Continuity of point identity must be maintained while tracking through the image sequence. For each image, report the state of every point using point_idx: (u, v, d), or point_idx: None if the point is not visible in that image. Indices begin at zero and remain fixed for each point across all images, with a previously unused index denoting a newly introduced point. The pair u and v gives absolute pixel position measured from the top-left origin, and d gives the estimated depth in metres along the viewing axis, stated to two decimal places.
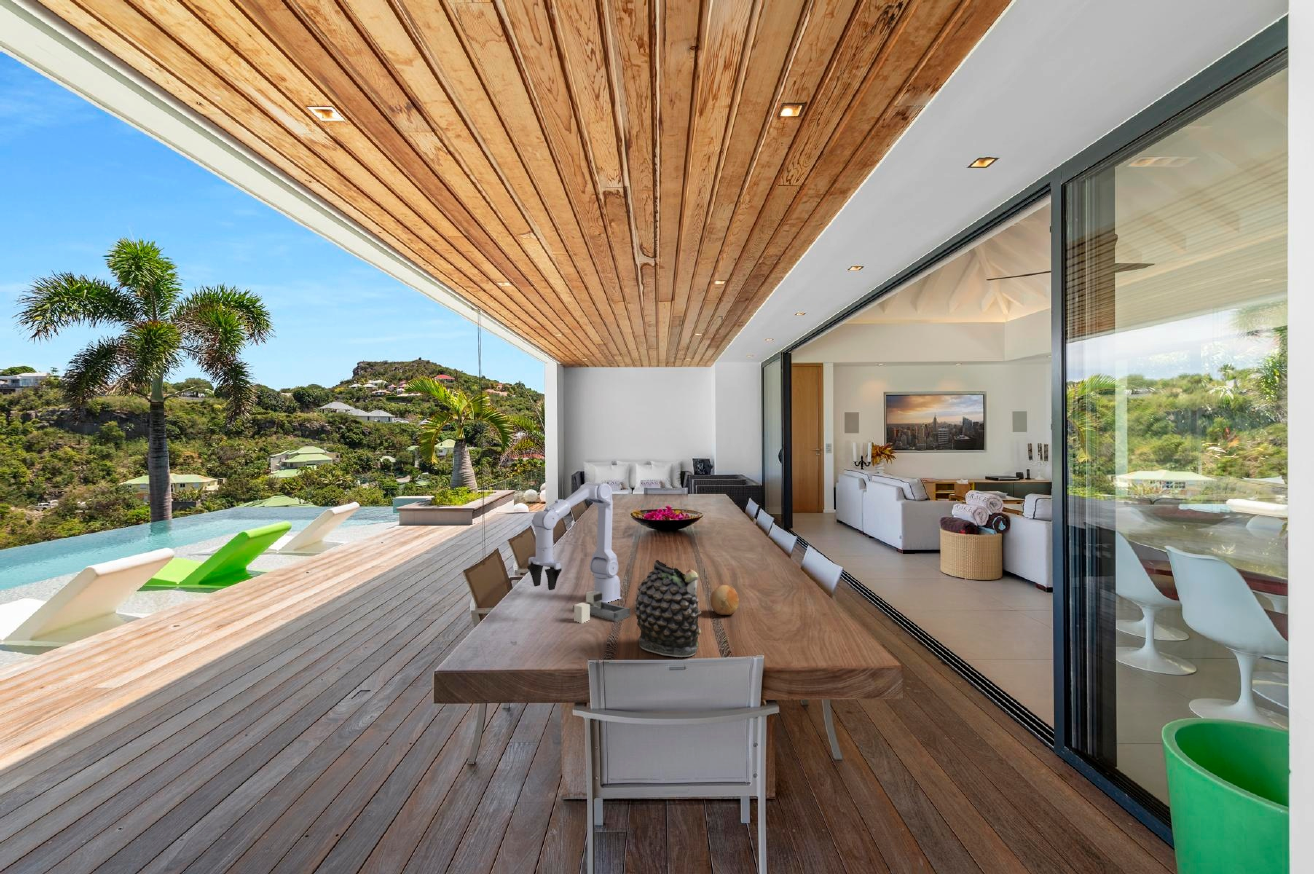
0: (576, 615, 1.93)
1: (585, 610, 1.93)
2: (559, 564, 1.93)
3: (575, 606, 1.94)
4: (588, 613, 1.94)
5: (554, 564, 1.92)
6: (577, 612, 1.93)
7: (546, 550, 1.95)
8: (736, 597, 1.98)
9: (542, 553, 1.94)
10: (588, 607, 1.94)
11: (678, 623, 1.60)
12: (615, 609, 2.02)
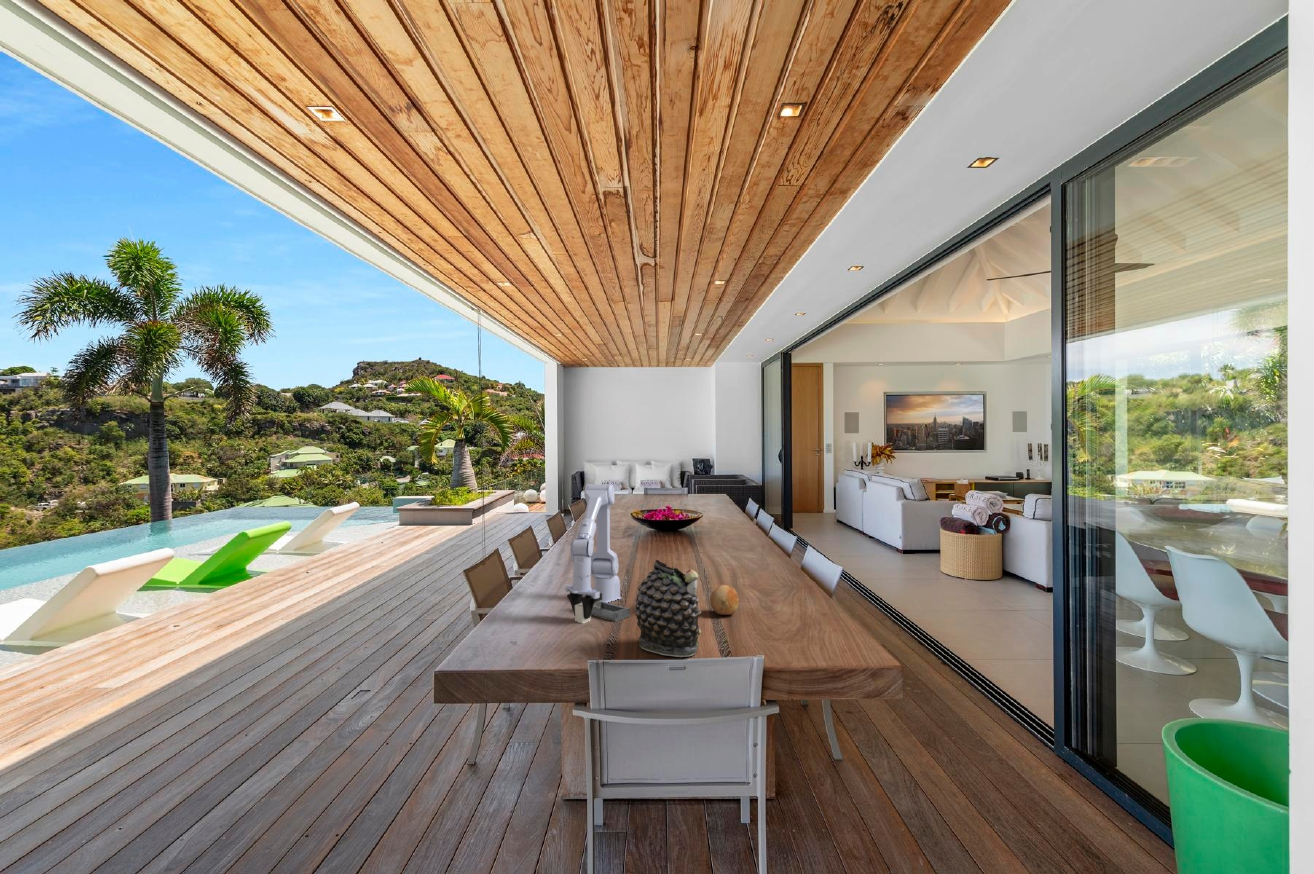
0: (577, 615, 1.93)
1: None
2: (598, 593, 1.90)
3: (576, 606, 1.93)
4: None
5: (593, 593, 1.89)
6: (578, 612, 1.93)
7: (584, 579, 1.92)
8: (736, 597, 1.98)
9: (580, 582, 1.91)
10: None
11: (678, 623, 1.60)
12: (615, 609, 2.02)
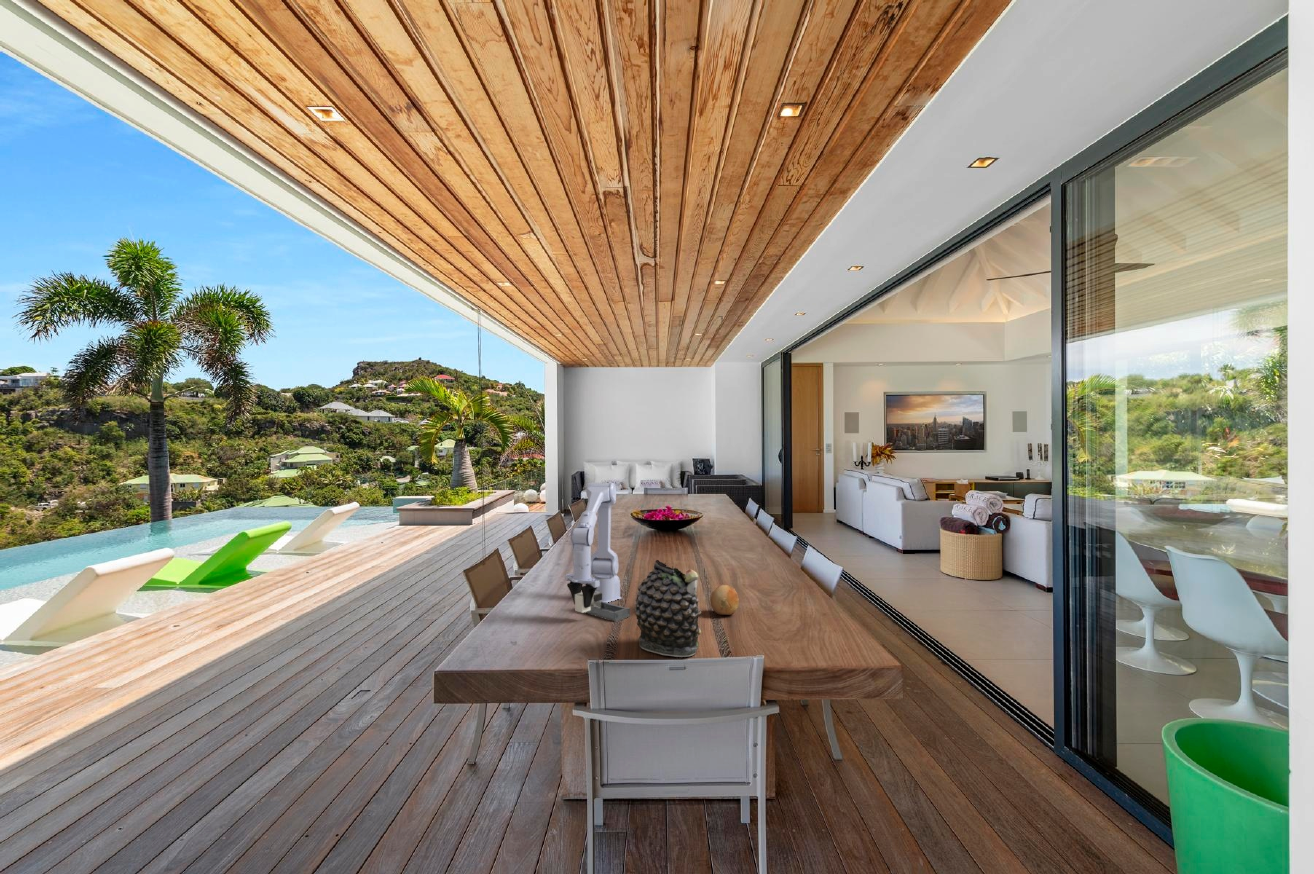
0: (577, 604, 1.93)
1: None
2: (598, 582, 1.90)
3: (576, 595, 1.93)
4: None
5: (593, 582, 1.89)
6: (578, 602, 1.93)
7: (584, 568, 1.92)
8: (736, 597, 1.98)
9: (580, 571, 1.91)
10: None
11: (678, 623, 1.60)
12: (615, 609, 2.02)
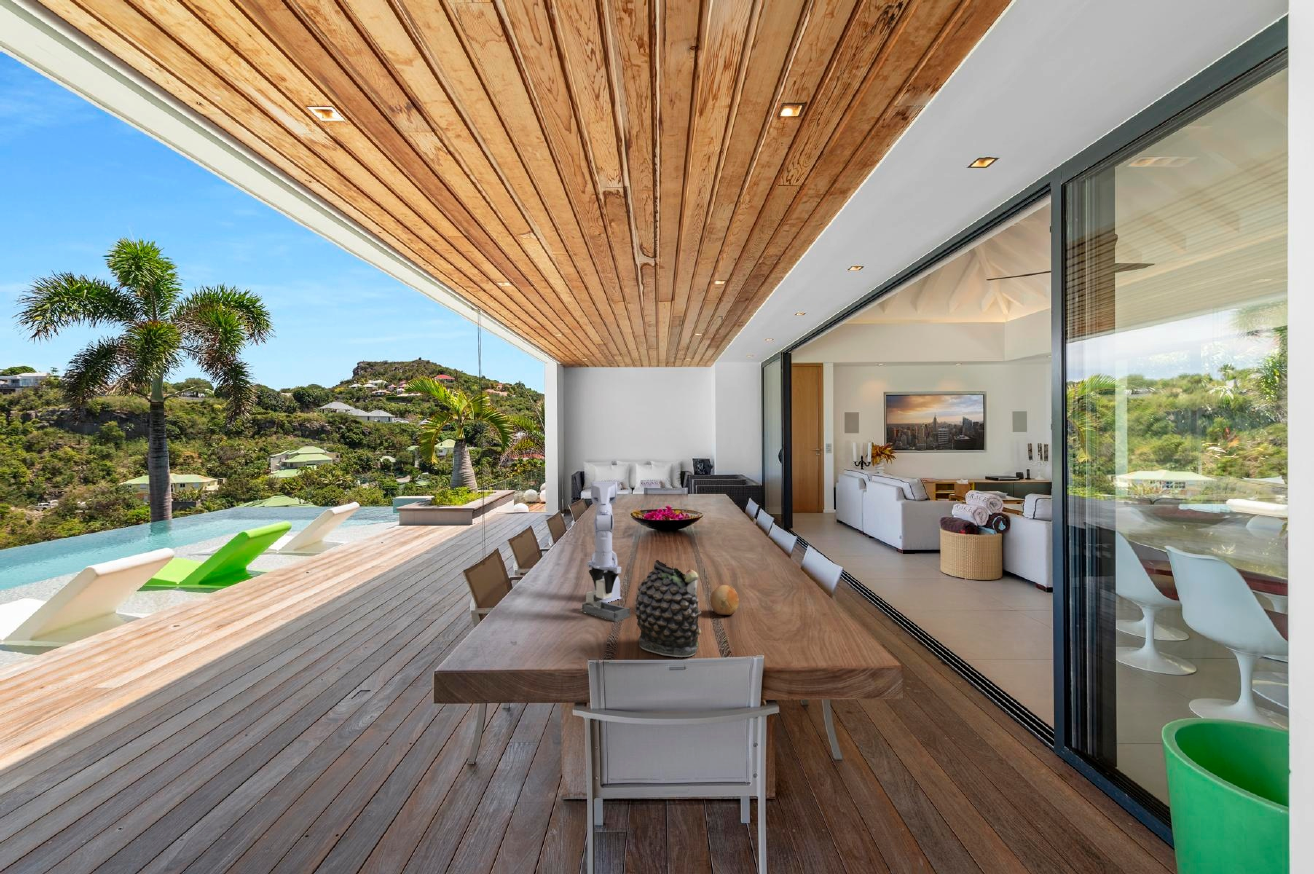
0: (598, 591, 1.96)
1: None
2: (619, 568, 1.93)
3: (597, 582, 1.96)
4: None
5: (615, 568, 1.92)
6: (599, 588, 1.96)
7: (606, 554, 1.94)
8: (736, 597, 1.98)
9: (602, 557, 1.94)
10: None
11: (678, 623, 1.60)
12: (615, 609, 2.02)
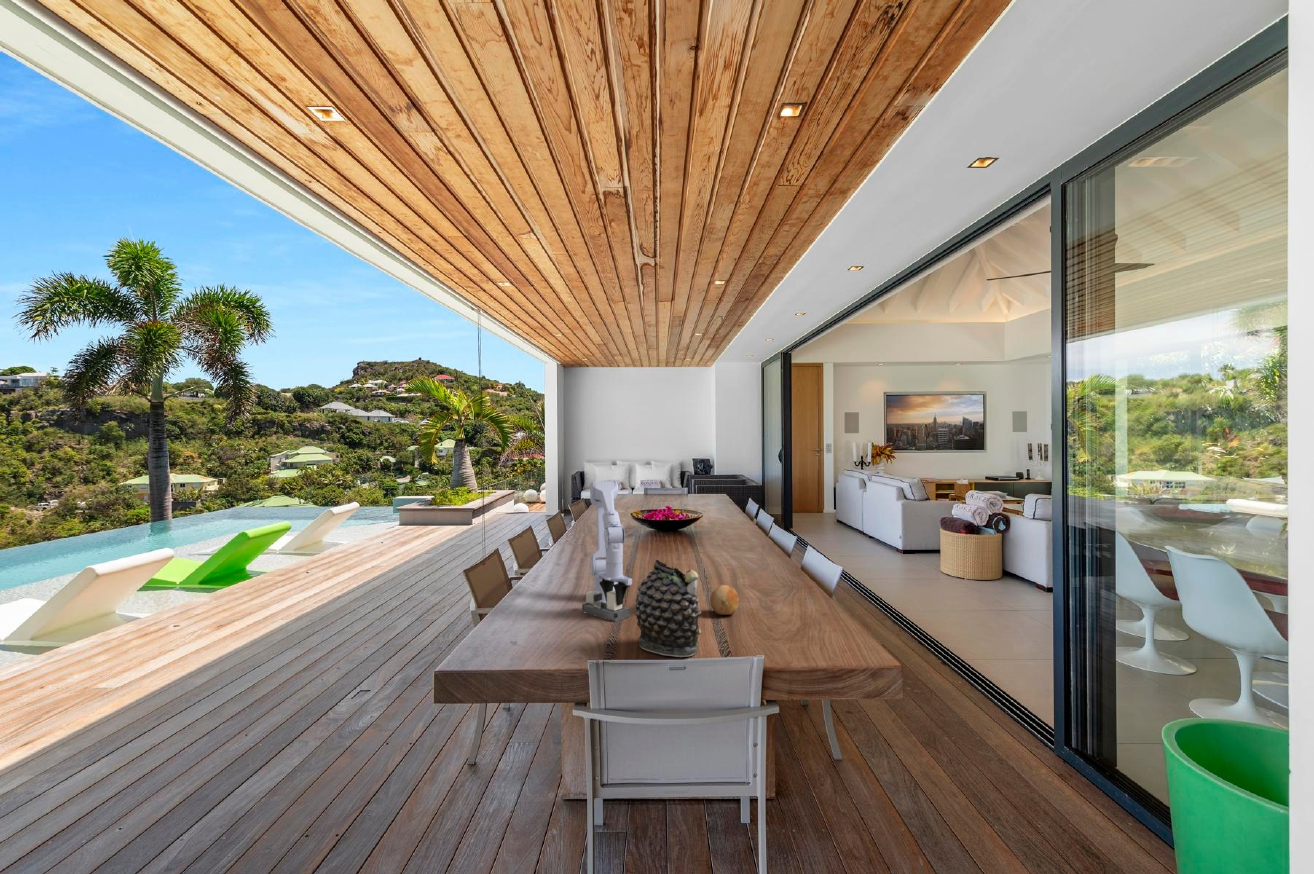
0: (609, 602, 1.97)
1: None
2: (630, 580, 1.94)
3: (608, 593, 1.97)
4: None
5: (626, 580, 1.94)
6: (610, 600, 1.97)
7: (617, 566, 1.96)
8: (736, 597, 1.98)
9: (612, 569, 1.96)
10: None
11: (678, 623, 1.60)
12: None
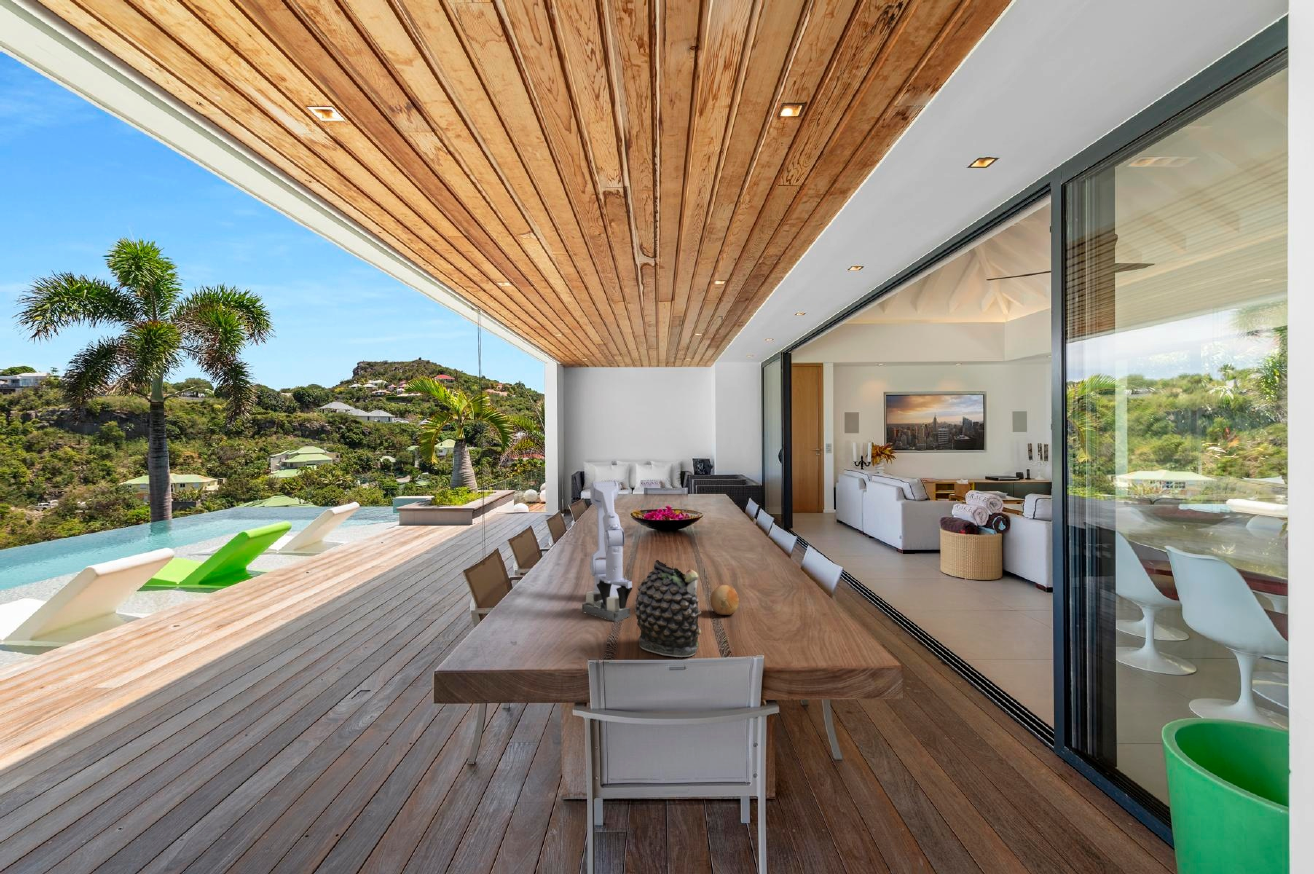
0: (609, 608, 1.97)
1: (618, 603, 1.97)
2: (630, 583, 1.94)
3: (608, 599, 1.98)
4: None
5: (626, 583, 1.94)
6: (609, 605, 1.97)
7: (617, 569, 1.96)
8: (736, 597, 1.98)
9: (612, 572, 1.96)
10: None
11: (678, 623, 1.60)
12: None
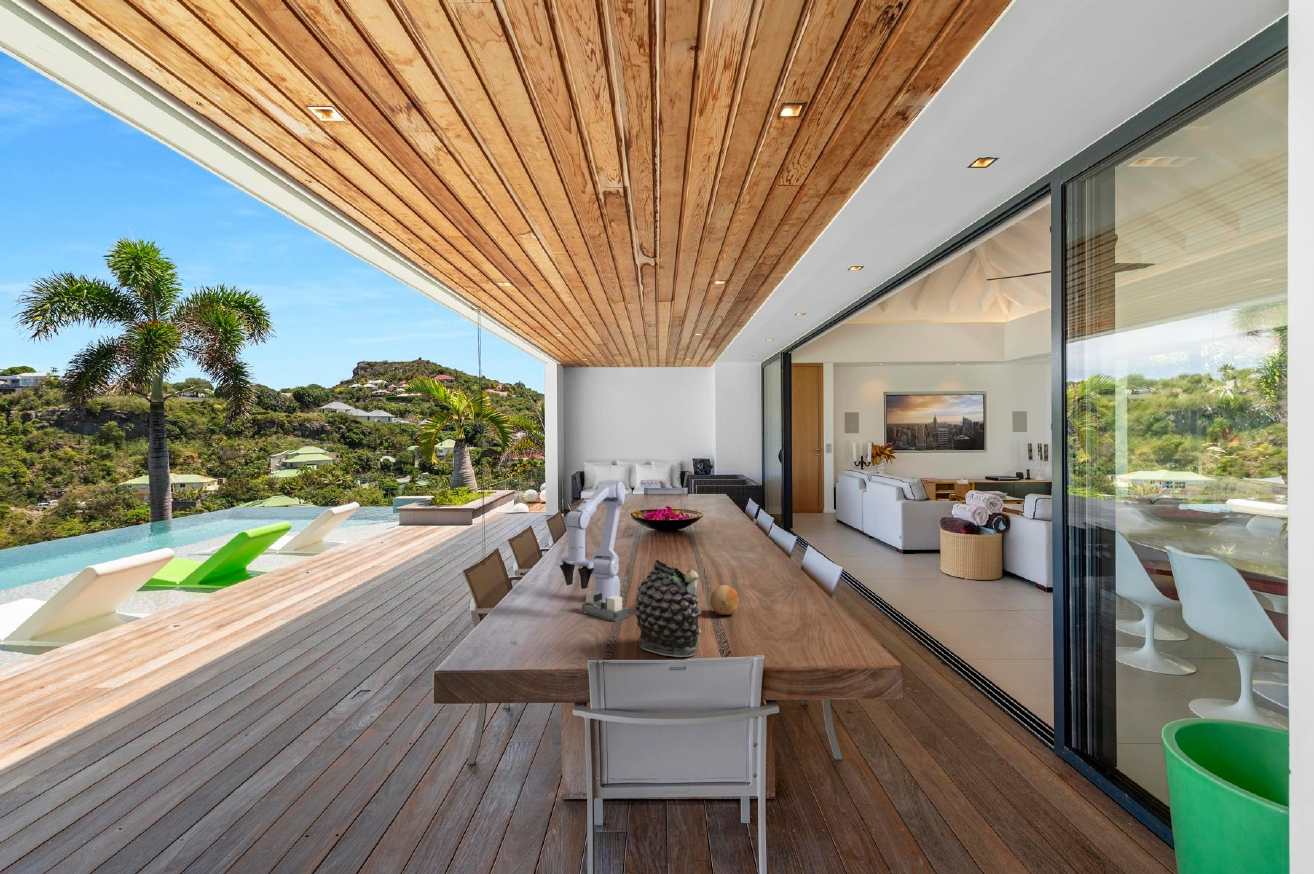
0: (609, 608, 1.97)
1: (618, 603, 1.97)
2: (592, 563, 1.97)
3: (608, 599, 1.98)
4: (620, 606, 1.98)
5: (587, 563, 1.97)
6: (609, 605, 1.97)
7: (579, 550, 1.99)
8: (736, 597, 1.98)
9: (575, 553, 1.99)
10: (620, 600, 1.98)
11: (678, 623, 1.60)
12: None
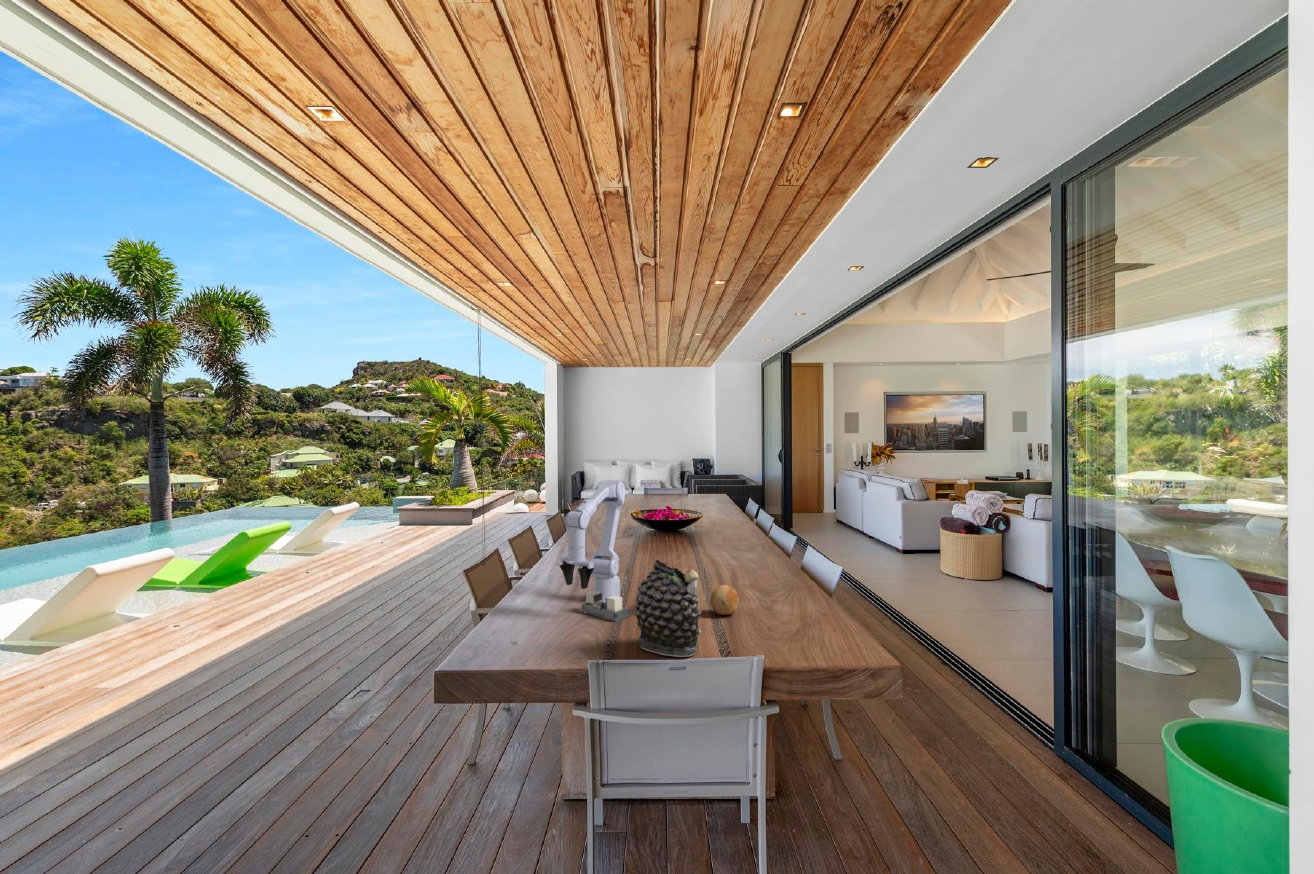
0: (609, 608, 1.97)
1: (618, 603, 1.97)
2: (592, 563, 1.97)
3: (608, 599, 1.98)
4: (620, 606, 1.98)
5: (587, 563, 1.97)
6: (609, 605, 1.97)
7: (579, 550, 1.99)
8: (736, 597, 1.98)
9: (575, 553, 1.99)
10: (620, 600, 1.98)
11: (678, 623, 1.60)
12: None
